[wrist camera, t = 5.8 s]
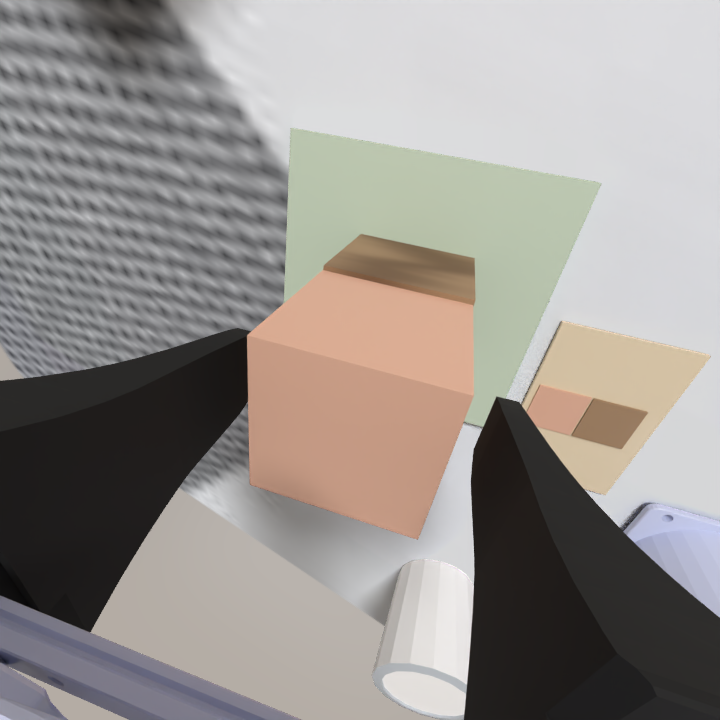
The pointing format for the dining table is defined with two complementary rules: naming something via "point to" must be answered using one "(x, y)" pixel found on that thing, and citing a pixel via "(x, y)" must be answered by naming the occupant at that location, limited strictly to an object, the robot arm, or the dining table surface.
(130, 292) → the dining table surface
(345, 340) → the terracotta block
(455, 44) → the dining table surface
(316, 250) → the plate
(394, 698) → the white cup
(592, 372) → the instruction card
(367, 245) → the walnut block
